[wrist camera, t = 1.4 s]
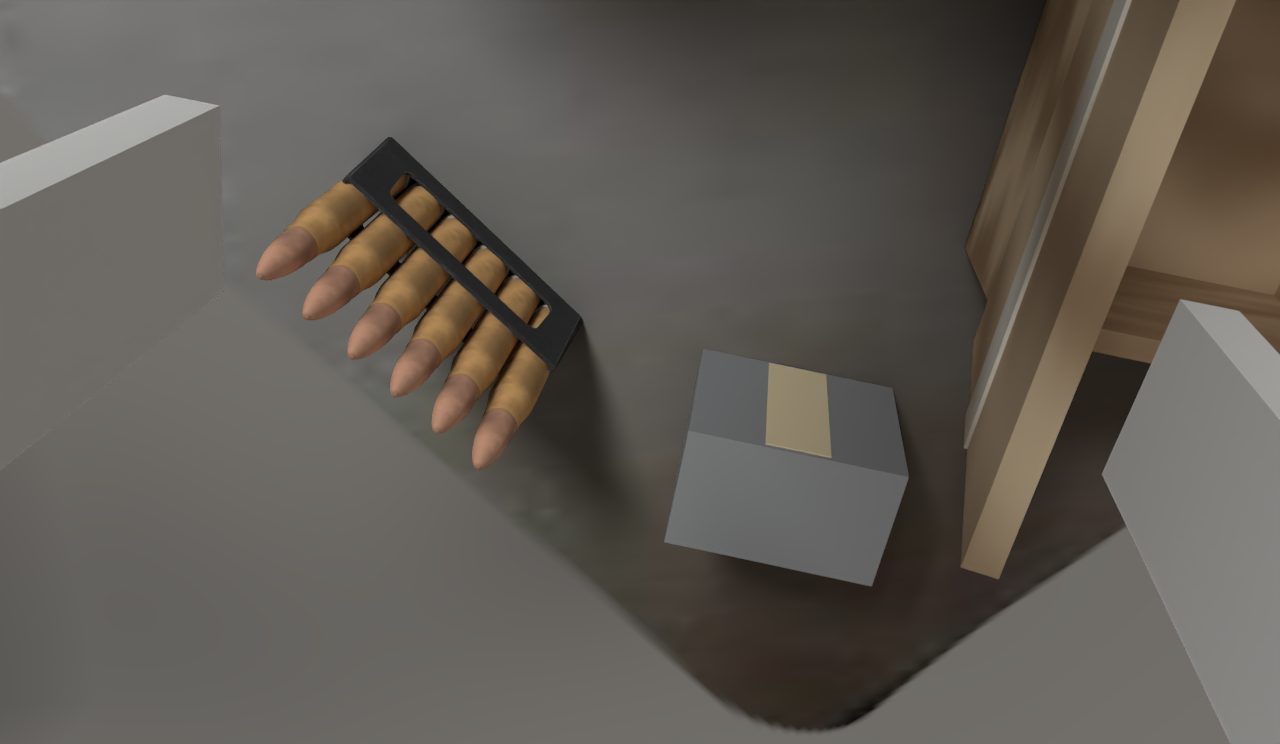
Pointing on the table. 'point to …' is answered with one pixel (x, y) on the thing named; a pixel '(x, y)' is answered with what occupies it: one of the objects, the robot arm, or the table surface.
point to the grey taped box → (788, 468)
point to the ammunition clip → (431, 292)
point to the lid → (1074, 246)
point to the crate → (1167, 184)
